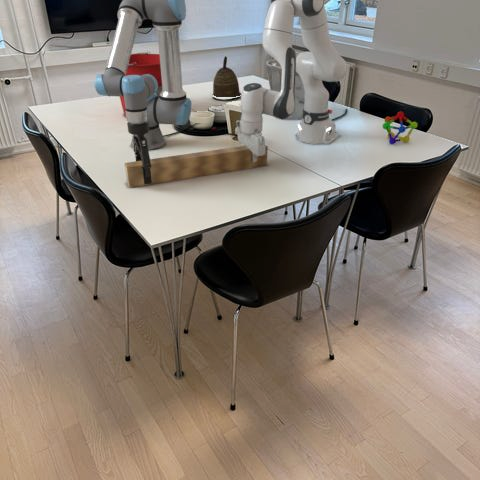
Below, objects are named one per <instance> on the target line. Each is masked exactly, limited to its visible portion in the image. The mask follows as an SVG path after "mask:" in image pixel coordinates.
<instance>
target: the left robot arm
mask: <svg viewBox="0 0 480 480" xmlns="http://www.w3.org/2000/svg"><path fill="white" fill-rule="evenodd" d="M186 6H187V5H186V1H185V0H121V2H120V4H119V7H118V10H117V14H116V15H117V19H118V20H117V25H116V28H115V32H114V36H113V39H112V43H111V47H110V51H109V55H108V58H107V61H108V62H107V61H106V62H107V63H106V66H105V69H104V72H103V73H100V74H97V75H96V76H95V77H94V83H93V84H94V85H93V86H94V89H95V92H96V93H97V95H99V96H105V97H108V98H109V97H119V96H120V97H124V101H125V109H126V110H125V111H126V117H125V118H126V122H127V132H128V133H129V134H130V135H131V142H130V143H131V147H132V148H133V153H134V156H135V161H142V164H143V167H141V169H143V177H144V184H149V185H152V184H151V183H152V180H151V171H150V168H151V162H150V159H151V157H150V152H149V151H151V150H153V151H154V150H157V149H161V148H163V147H164V146H165V144H166V140H165V138H166V137H169V136H173V135H176V134H179V133H181V132H184V131H185V130H187V129H189V128H190V127H192V126H191V124H190V125H188V126H186V127H184V128H182V129H180V130H178V131H175V132H172V133H169V134H168V133H167V134H163V132H162V130H161V127H160V125H171V126H173V125H174V126H184V125H187V124H188V122H189V120H190V118H191V113H192V99H191V98H190V97H188V96H187V92H186V91H185V90H183V79H182V78H183V77H182V61H181V50H180V49H181V46H180V34H179V33H180V32H179V29H180V28H181V27H182V25H183V22H182V21H184V20H185V19H186V16H187V14H186V12H187V7H186ZM144 20H151V21H152V22H151V23H152V26H153V27H154V29H156V30H157V31H156V33H157V45H158V54H159V56H160V67H161V78H162V89H163V90H162V91H161V93H160V97H157V94H156V93H155V92H156V91H157V89H158V83H157V80H156V79H155V77H154V76H152V75H150V74H145V75H142V76H140V75H128V76H126V71H127V68H128V64H129V60H130V56H131V54H132V52H133V48H134V44H135V40H136V38H137V37H136V36H137V32H138V30H139V29H138V28H140V27H141V26H142V24H143V21H144ZM120 97H119V98H120ZM146 164H148V165H146Z"/></svg>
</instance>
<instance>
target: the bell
mask: <svg viewBox="0 0 480 480" xmlns="http://www.w3.org/2000/svg"><path fill="white" fill-rule="evenodd" d="M227 63H228V57H227V56H224V58H223V63H222V67H221V68H219V69H218V70H217V71H216V73H215V75H214V78H213V81H212V83H213V84H212V95H214V96H216V97H236V96H240V95H242V92H240V83H239V80H238V79H239V78H238V77H237V75H236V73H235V72H234V70H232V69H231V68H230V67H227Z"/></svg>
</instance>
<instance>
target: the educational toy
mask: <svg viewBox="0 0 480 480" xmlns="http://www.w3.org/2000/svg"><path fill="white" fill-rule="evenodd" d="M397 119H399V124H400V125H399V127H398V126H393V125H391V124H392V123H394V122H395V121H396V120H397ZM403 120H404V121H405V122H407V123H408V124H409V125H407V126H404V123H403ZM417 127H418V122H417V121H411V120H410V119H409V118H408V117H406V116H405V113H404V112H403V111H401V110H400V111H398V112H397V114H396V115H394V116H391V117H390V116H386V117H385V118H384V122H383V123H382V129H383V130H386V132H387V138H388V142H389V145H395V144H396V143H397V142H402V141H403V142H404V143H409V142H410V140H411V138H410V136H411V134H412V132H413V131H414V130H415V129H417ZM392 129H393V130H397V131H398V132H396V134H395V133H394V132H392ZM408 129H409V131H408V133H407V134H406V135H404V136H401V134H403V133H405V132H406V130H408ZM399 135H400V136H399Z"/></svg>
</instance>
